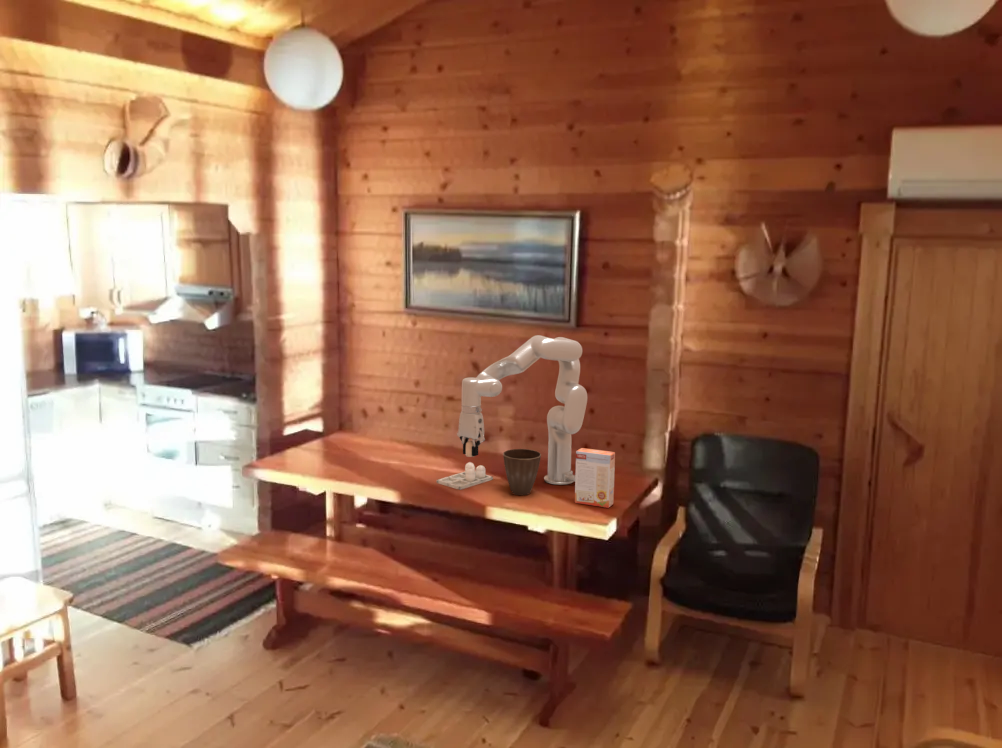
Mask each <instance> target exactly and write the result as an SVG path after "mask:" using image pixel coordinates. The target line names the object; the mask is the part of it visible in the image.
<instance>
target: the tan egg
mask: <svg viewBox="0 0 1002 748" xmlns="http://www.w3.org/2000/svg"><path fill="white" fill-rule="evenodd" d="M472 446H473V441H472V440H469V441H468V442H467V443H466V454H465V456H466V457H467V458H475V456H472Z"/></svg>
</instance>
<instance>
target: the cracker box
mask: <svg viewBox="0 0 1002 748" xmlns="http://www.w3.org/2000/svg"><path fill="white" fill-rule="evenodd" d="M615 463H616V452H615V451H608V450H603V449H602V450H601V449H592V448H584V447H581V448H579V449H578V450H576V451H575V473H574V475H575V481H574V482H575V483H574V484H575V485H574V503H575V504H581V505H587V506H588V505H589V506H594V507H601V508H606V509H609V508H611V506H613V505H614V495H615V471H616V470H615V467H616V465H615Z"/></svg>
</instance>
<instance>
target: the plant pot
mask: <svg viewBox="0 0 1002 748" xmlns="http://www.w3.org/2000/svg"><path fill="white" fill-rule="evenodd" d="M502 456H503V464H504V468H505V474H506V475H505V476H506V478H507V479H506V480H507V482H508V485H509V488H510V491H511V493H512V494H513V495H516V496H528V495H529V494H530V493H531V491H532V489H533V487H534V484H535V482H536V479H537V475H538V471H539V467H540V462H541V458H542V457H541V456H542V454H541V452H539V451H538V450H537V451H536V450H534V449H528V448H527V449H526V448H512V449H508V450H506V451H504V452H503V453H502Z"/></svg>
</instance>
